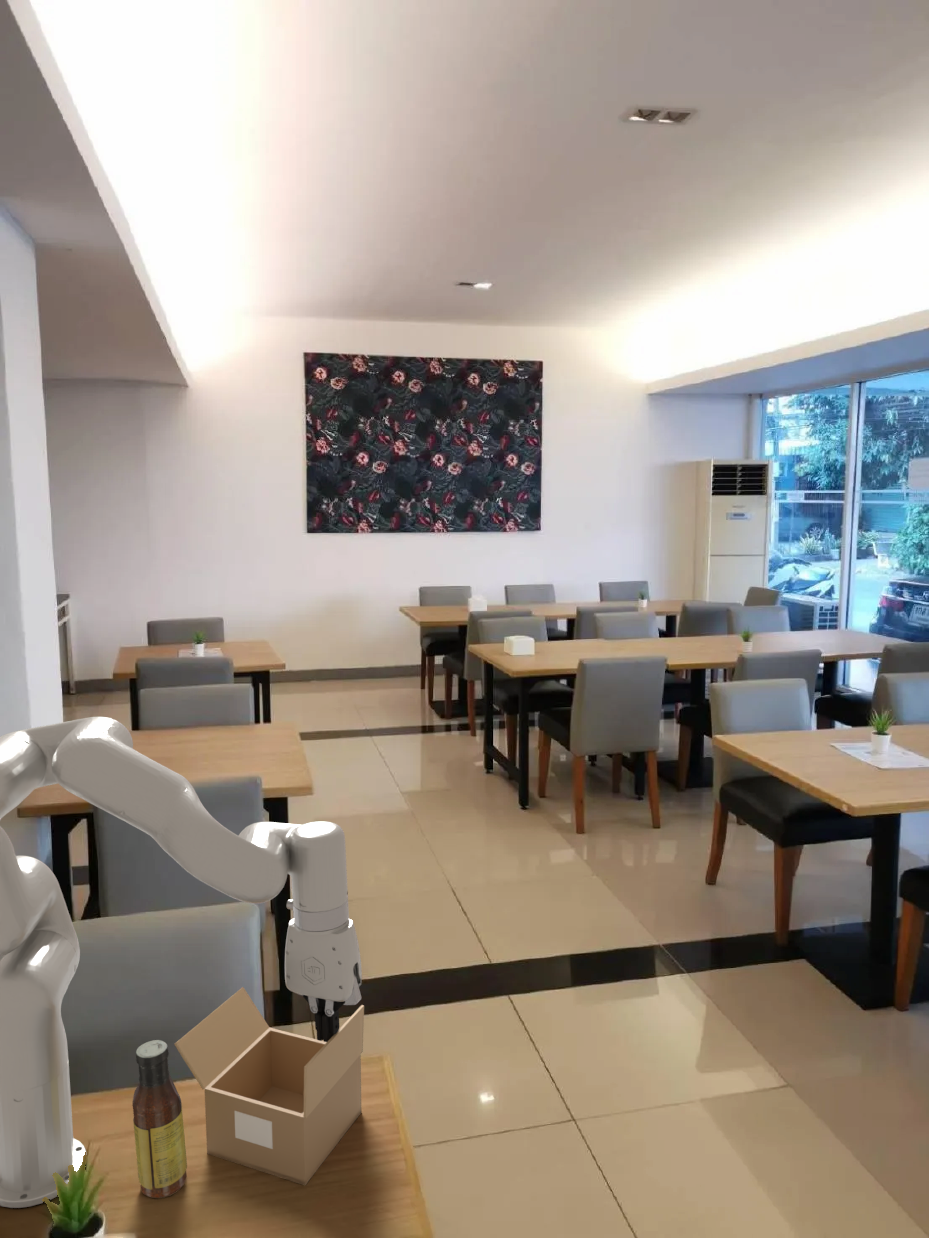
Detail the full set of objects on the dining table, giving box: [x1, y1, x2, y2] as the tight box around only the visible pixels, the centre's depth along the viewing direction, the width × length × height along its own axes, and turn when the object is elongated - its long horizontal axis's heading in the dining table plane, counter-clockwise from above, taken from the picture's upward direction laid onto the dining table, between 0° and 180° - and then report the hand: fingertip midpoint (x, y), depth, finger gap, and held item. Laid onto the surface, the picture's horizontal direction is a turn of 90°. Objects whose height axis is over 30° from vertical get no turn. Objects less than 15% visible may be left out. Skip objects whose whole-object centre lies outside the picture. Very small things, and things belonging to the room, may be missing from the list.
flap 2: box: [303, 1004, 365, 1118], centre depth 130 cm, size 7×16×1 cm
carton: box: [204, 1026, 363, 1186], centre depth 134 cm, size 16×16×10 cm
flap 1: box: [173, 986, 270, 1090], centre depth 137 cm, size 7×16×1 cm
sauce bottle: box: [131, 1039, 188, 1199], centre depth 123 cm, size 6×6×20 cm
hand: (327, 1035), depth 130 cm, fingers closed
